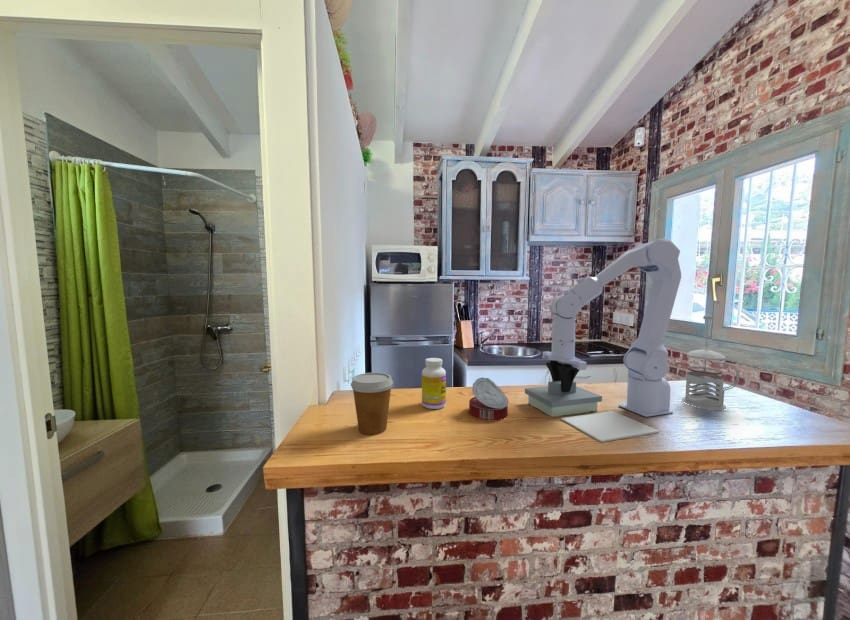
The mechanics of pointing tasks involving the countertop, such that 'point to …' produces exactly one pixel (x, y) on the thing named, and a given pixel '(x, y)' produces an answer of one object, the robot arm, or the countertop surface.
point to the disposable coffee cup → (372, 401)
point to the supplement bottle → (433, 384)
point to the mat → (609, 426)
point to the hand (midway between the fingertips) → (562, 390)
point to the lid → (562, 395)
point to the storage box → (562, 408)
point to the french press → (706, 380)
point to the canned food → (488, 401)
